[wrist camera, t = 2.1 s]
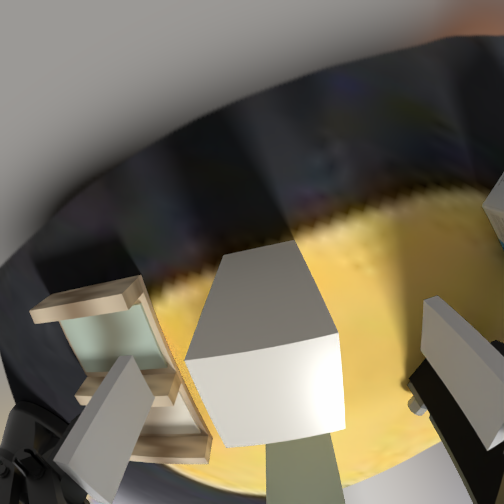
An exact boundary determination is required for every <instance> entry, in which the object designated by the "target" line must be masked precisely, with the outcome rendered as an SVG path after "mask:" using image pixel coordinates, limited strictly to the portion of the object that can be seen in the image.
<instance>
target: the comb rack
mask: <svg viewBox="0 0 504 504" xmlns="http://www.w3.org/2000/svg"><path fill="white" fill-rule="evenodd" d="M29 312H30V314H31V316H32V319H33V321H34V323H35V324H38V323H46V322H53V321H59V323H60V325H61V327H62V329H63V331H64V333H65V335H66V338H67V340H68V342H69V344H70V346H71V347H72V349H73V351H74V353H75V355H76V357H77V359H78V361H79V363H80V364H81V366H82V368H83V370H84V372H85V373H86V375H87V378H86V380H85V381H84V383H83V384H82V385H81V387H80V388H79V390H78V391H77V393H76V394H75V397H76V399H77V400H78V402H79V403H80V405H87V404H88V403H89V401H90V400H91V398H92V396H93V395H94V393H95V392H96V390H97V389H98V387H99V386H100V384H101V383H102V381H103V380H104V378H105V377H106V375H107V374H108V372H109V371H110V369H111V368H112V366H113V365H114V363H115V362H116V360H117V359H118V357H119V356H128V355H133V357H134V359H135V361H136V363H137V365H138V367H139V369H140V371H141V373H142V375H143V377H144V379H145V381H146V383H147V385H148V386H149V388H150V390H151V392H152V394H153V396H154V397H155V399H154V401H153V404H152V406H151V408H150V411H149V413H148V416H147V418H146V420H145V423H144V425H143V427H142V430H141V432H140V435H139V437H138V440H137V442H136V444H135V447H134V449H133V452H132V454H131V457H130V459H129V461H138V462H149V463H166V464H209V459H210V452H211V446H212V439H213V438H212V436H211V434H210V432H209V430H208V428H207V426H206V425H205V423H204V421H203V419H202V417H201V415H200V413H199V411H198V409H197V407H196V405H195V403H194V401H193V399H192V397H191V395H190V393H189V391H188V389H187V387H186V384H185V382H184V380H183V378H182V376H181V374H180V371H179V369H178V367H177V365H176V363H175V360H174V358H173V356H172V353H171V351H170V349H169V346H168V344H167V342H166V339H165V337H164V334H163V332H162V329H161V327H160V324H159V322H158V319H157V317H156V314H155V312H154V309H153V306H152V304H151V301H150V298H149V295H148V293H147V290H146V287H145V284H144V281H143V279H142V276H141V275H137V276H132V277H128V278H123V279H119V280H114V281H109V282H105V283H100V284H96V285H91V286H86V287H82V288H77V289H73V290H68V291H63V292H59V293H54V294H51V295H50V296H48V297H47V298H46V299H44V300H43V301H42V302H40V303H39V304H38V305H36V306H35V307H34V308H32V309H31V310H30V311H29Z"/></svg>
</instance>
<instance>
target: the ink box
mask: <svg viewBox="0 0 504 504" xmlns="http://www.w3.org/2000/svg"><path fill="white" fill-rule="evenodd" d="M482 208H483V209H484V211H485V213H486V215H487V217H488V219H489V221H490V223H491V225H492V227H493V229H494V231H495V233H496V235H497V237H498V239H499V241H500V243H501V245H502V248H503V250H504V172H503V174H502V176H501V177H500V179H499V180H498V182H497V183H496V185H495V186H494V188H493V189H492V191H491V192H490V194H489V195H488V197H487V198H486V200H485V201H484V202H483V204H482Z"/></svg>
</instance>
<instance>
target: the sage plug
mask: <svg viewBox="0 0 504 504" xmlns="http://www.w3.org/2000/svg"><path fill="white" fill-rule="evenodd" d="M266 501H267V504H345V499H344V495H343V490H342V485H341V480H340V476H339V471H338V467H337V462H336V458H335V453H334V449H333V444H332V440H331V436H330V433H325V434H321V435H316V436H311V437H306V438H300V439H295V440H289V441H283V442H276V443H269V444H266Z"/></svg>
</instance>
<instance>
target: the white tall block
mask: <svg viewBox="0 0 504 504" xmlns="http://www.w3.org/2000/svg"><path fill="white" fill-rule="evenodd" d="M184 361H185V363H186V365H187V368H188V370H189V372H190V375H191V377H192V379H193V381H194V384H195V386H196V388H197V390H198V392H199V395H200V397H201V399H202V401H203V403H204V405H205V407H206V409H207V411H208V413H209V415H210V417H211V419H212V421H213V423H214V425H215V427H216V429H217V431H218V433H219V435H220V437H221V439H222V441H223V443H224V445H225V447H226V448H230V447H242V446H252V445H261V444H269V443H276V442H283V441H289V440H295V439H300V438H306V437H311V436H316V435H321V434H325V433H330V432H334V431H338V430H342V429H345V413H344V394H343V379H342V366H341V354H340V344H339V334H338V331H337V328H336V326H335V324H334V322H333V320H332V317H331V315H330V313H329V311H328V309H327V307H326V304H325V302H324V300H323V298H322V296H321V294H320V292H319V290H318V287H317V285H316V283H315V281H314V279H313V277H312V275H311V273H310V271H309V269H308V266H307V264H306V262H305V260H304V258H303V256H302V254H301V252H300V250H299V248H298V246H297V244H296V242H295V240H291V241H287V242H282V243H278V244H273V245H268V246H264V247H259V248H254V249H250V250H245V251H241V252H236V253H231V254H227V255H223V258H222V260H221V263H220V265H219V268H218V271H217V273H216V276H215V279H214V281H213V284H212V287H211V289H210V292H209V295H208V297H207V300H206V303H205V305H204V308H203V311H202V313H201V316H200V319H199V321H198V324H197V327H196V330H195V332H194V335H193V338H192V341H191V343H190V346H189V349H188V352H187V355H186V357H185V360H184Z"/></svg>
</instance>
